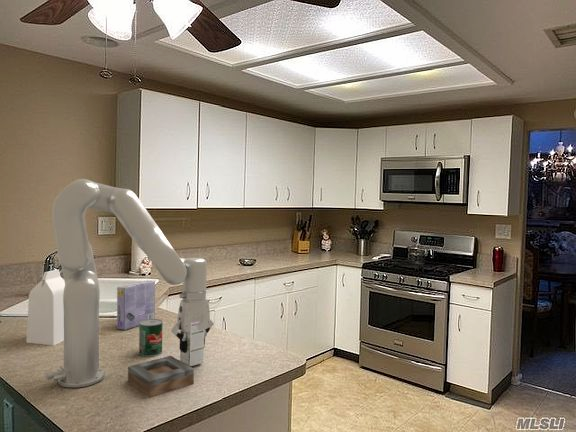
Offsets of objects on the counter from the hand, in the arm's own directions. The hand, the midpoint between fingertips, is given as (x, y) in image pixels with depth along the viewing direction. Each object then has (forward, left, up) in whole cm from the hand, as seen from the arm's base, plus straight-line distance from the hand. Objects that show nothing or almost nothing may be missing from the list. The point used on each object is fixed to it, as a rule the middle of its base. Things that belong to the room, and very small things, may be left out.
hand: (192, 349), depth 146 cm
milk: (-27, +56, -5) cm, 62 cm away
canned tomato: (-5, +19, -5) cm, 20 cm away
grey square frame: (-14, -6, -5) cm, 17 cm away
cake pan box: (+6, +54, -5) cm, 54 cm away
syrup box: (0, 0, -5) cm, 5 cm away
